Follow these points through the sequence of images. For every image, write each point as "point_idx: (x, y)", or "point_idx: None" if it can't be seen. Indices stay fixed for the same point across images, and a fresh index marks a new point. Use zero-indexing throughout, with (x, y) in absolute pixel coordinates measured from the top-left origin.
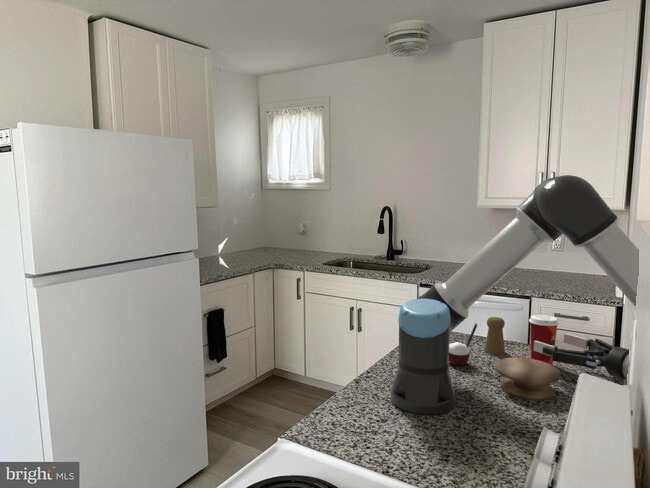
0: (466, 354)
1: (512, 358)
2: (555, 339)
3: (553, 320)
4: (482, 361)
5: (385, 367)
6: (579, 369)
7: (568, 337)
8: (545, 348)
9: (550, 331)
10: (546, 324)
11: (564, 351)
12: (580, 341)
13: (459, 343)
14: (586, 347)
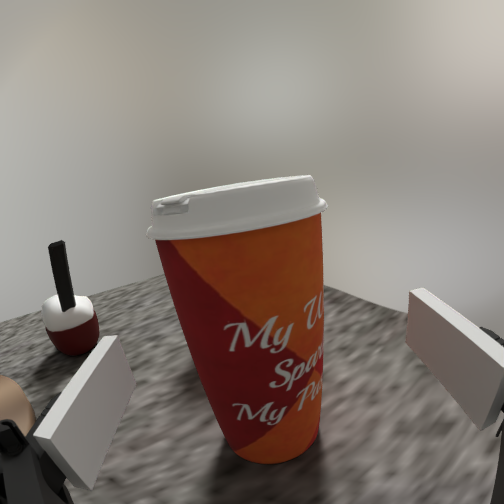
0: (56, 330)
1: (7, 385)
2: (289, 341)
3: (214, 191)
4: (131, 357)
5: (11, 323)
6: (414, 501)
7: (423, 319)
8: (50, 405)
9: (201, 285)
10: (164, 229)
11: (8, 494)
12: (470, 368)
13: (49, 298)
14: (491, 419)
